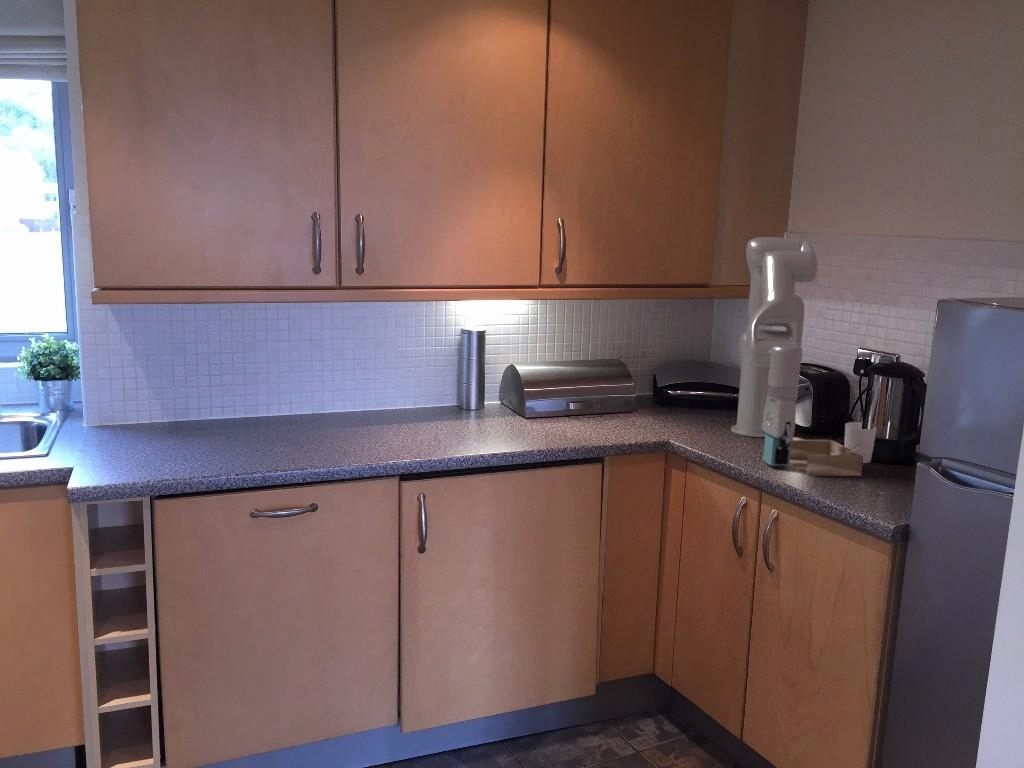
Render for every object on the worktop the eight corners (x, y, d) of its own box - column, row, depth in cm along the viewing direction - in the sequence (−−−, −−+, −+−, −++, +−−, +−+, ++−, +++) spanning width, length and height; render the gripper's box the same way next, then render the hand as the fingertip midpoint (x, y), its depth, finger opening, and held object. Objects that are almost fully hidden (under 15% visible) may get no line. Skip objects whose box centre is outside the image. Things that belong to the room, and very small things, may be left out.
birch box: (780, 459, 237) (782, 439, 236) (830, 459, 239) (832, 439, 238) (807, 477, 221) (809, 456, 220) (861, 477, 223) (863, 456, 222)
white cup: (865, 457, 242) (869, 422, 240) (877, 465, 234) (881, 429, 232) (837, 457, 242) (840, 421, 240) (848, 465, 234) (852, 428, 232)
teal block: (763, 460, 230) (765, 434, 229) (781, 460, 231) (783, 434, 230) (770, 465, 226) (773, 439, 224) (789, 465, 226) (791, 439, 225)
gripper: (755, 386, 233) (749, 452, 236) (782, 399, 216) (776, 470, 219) (782, 386, 234) (776, 452, 237) (811, 399, 217) (804, 470, 220)
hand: (776, 460), depth 228 cm, fingers closed on teal block, 5 cm apart
